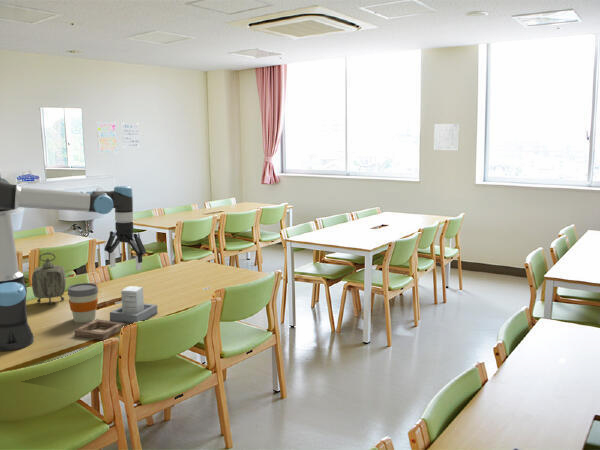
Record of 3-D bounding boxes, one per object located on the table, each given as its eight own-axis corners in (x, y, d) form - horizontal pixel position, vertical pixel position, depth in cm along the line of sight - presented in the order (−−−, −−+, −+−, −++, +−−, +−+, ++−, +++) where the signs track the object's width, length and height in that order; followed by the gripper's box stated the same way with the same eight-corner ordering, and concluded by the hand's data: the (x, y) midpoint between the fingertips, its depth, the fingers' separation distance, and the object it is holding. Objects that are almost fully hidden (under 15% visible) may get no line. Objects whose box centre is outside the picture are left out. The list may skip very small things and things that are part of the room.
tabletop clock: (67, 299, 270) (64, 250, 266) (66, 304, 261) (62, 254, 257) (35, 301, 265) (31, 252, 261) (32, 307, 257) (29, 256, 252)
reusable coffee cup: (69, 316, 245) (67, 284, 242) (99, 313, 249) (97, 281, 247) (68, 325, 233) (66, 292, 231) (99, 322, 238) (98, 289, 235)
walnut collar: (103, 340, 217) (102, 334, 217) (74, 335, 222) (74, 330, 221) (124, 328, 230) (124, 323, 230) (97, 324, 235) (97, 319, 234)
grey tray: (136, 324, 235) (136, 315, 235) (110, 320, 240) (109, 312, 239) (157, 313, 250) (157, 305, 250) (131, 309, 255) (131, 301, 254)
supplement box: (129, 312, 249) (128, 285, 247) (144, 313, 248) (143, 286, 246) (121, 317, 242) (120, 290, 240) (137, 318, 241) (136, 291, 239)
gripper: (153, 222, 237) (154, 269, 240) (106, 218, 245) (107, 263, 248) (143, 224, 230) (144, 272, 233) (95, 220, 238) (96, 267, 241)
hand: (125, 268), depth 241 cm, fingers open, 13 cm apart
